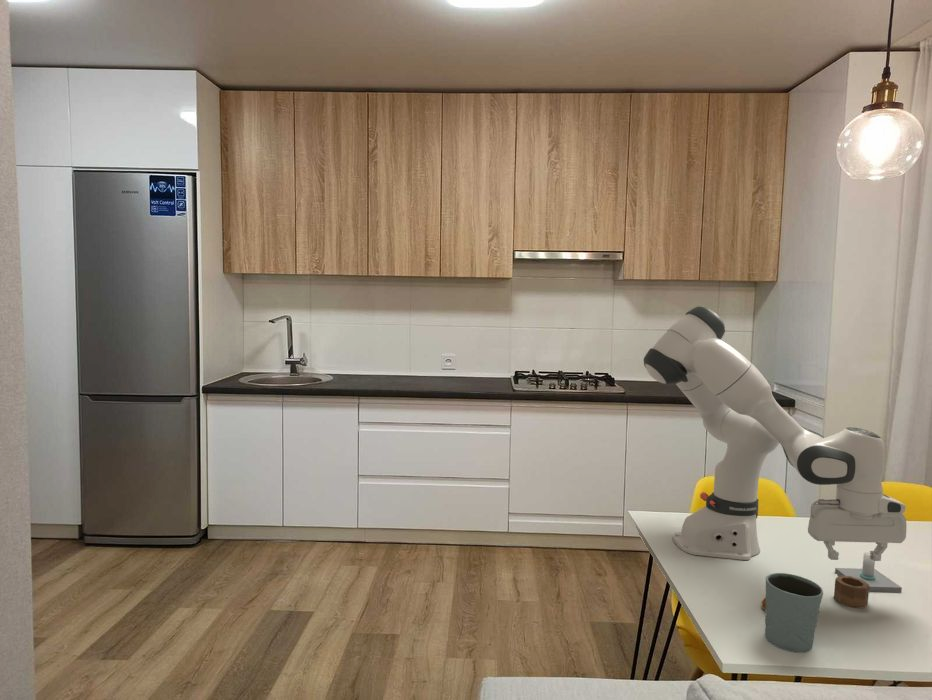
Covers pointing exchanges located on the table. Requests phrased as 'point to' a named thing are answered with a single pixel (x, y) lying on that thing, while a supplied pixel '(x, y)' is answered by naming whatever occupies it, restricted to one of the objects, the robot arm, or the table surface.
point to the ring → (851, 591)
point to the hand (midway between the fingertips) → (854, 559)
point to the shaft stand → (870, 576)
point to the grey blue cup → (791, 611)
